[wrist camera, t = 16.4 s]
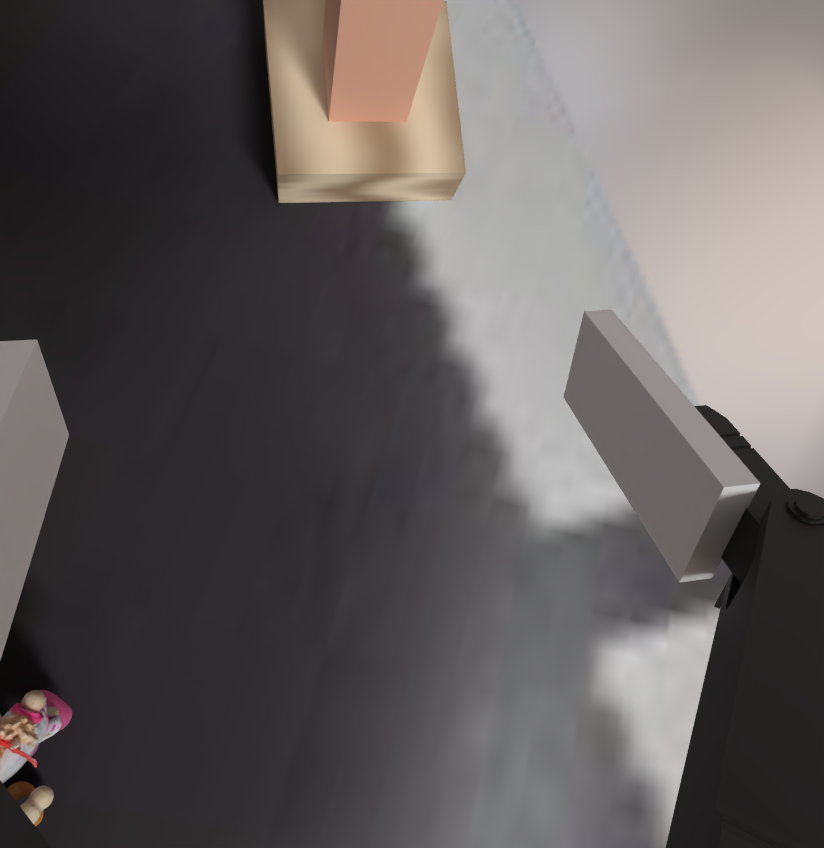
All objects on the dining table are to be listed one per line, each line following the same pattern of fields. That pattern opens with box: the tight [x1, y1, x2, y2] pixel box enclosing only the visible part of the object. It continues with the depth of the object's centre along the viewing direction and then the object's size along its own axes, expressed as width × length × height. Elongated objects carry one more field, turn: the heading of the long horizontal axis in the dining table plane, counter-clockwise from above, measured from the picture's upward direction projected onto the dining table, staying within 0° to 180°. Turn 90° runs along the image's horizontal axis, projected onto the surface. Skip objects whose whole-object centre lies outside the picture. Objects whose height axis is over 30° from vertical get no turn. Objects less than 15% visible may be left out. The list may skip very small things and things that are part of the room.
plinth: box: [263, 0, 466, 203], centre depth 45 cm, size 12×12×4 cm
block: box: [322, 0, 444, 122], centre depth 38 cm, size 5×5×11 cm
